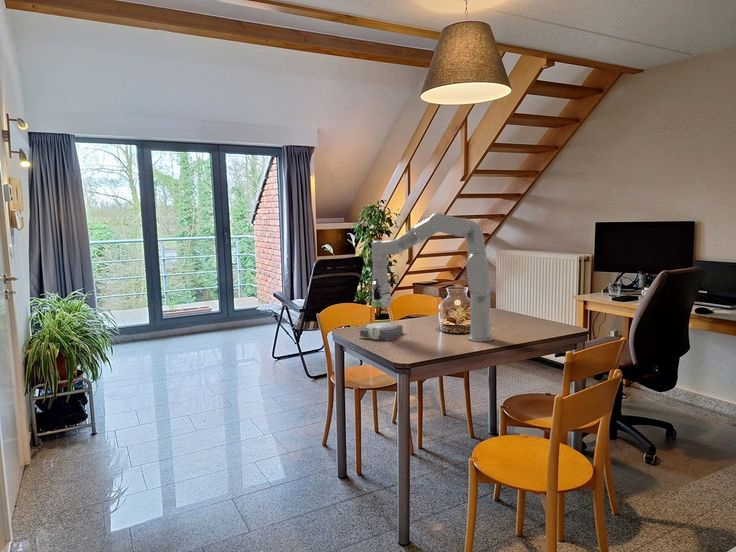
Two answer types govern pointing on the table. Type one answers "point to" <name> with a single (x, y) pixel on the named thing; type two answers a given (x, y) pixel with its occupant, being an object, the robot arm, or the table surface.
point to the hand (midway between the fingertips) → (380, 298)
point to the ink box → (382, 296)
